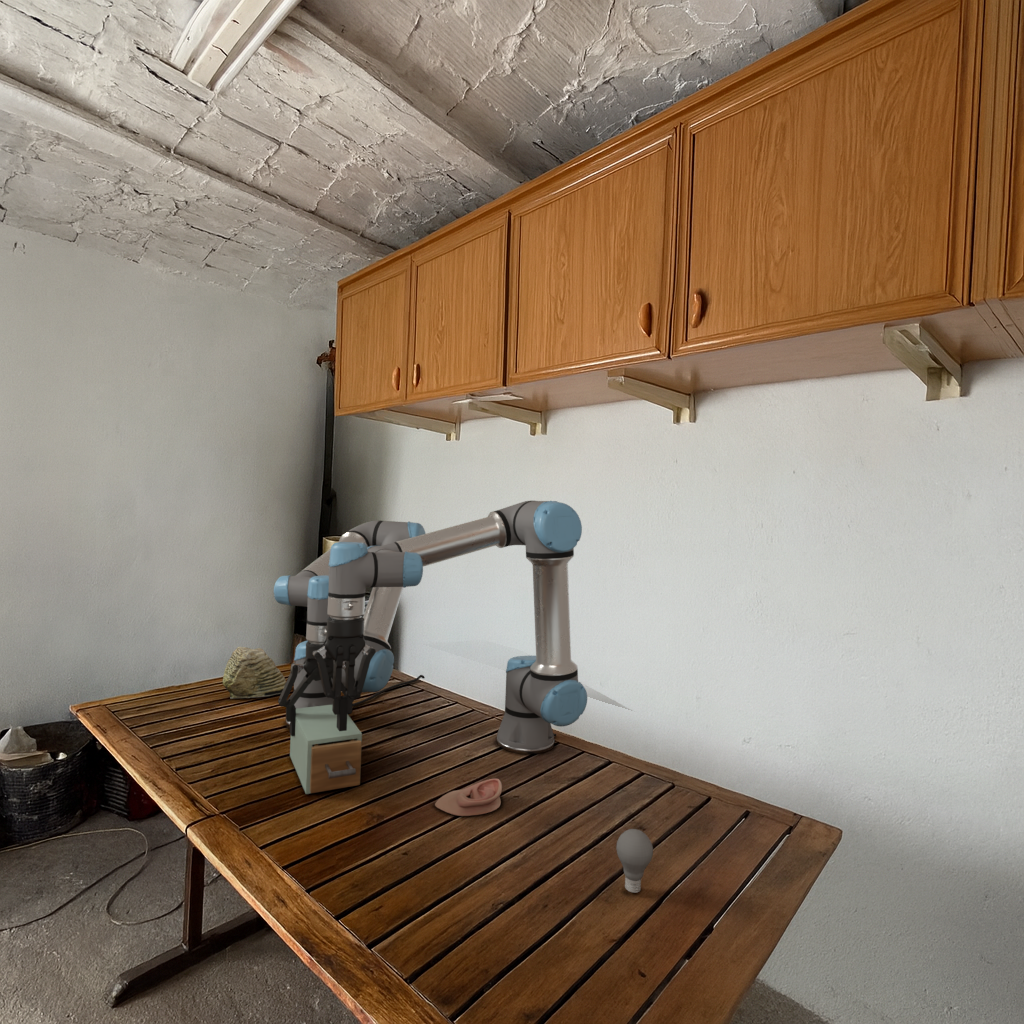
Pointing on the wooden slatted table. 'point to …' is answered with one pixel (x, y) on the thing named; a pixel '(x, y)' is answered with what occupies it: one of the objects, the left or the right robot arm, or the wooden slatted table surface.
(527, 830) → the wooden slatted table surface
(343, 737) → the cabinet
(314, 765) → the drawer
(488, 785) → the anatomical model
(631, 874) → the light bulb
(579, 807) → the wooden slatted table surface
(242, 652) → the fossil
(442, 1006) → the wooden slatted table surface
